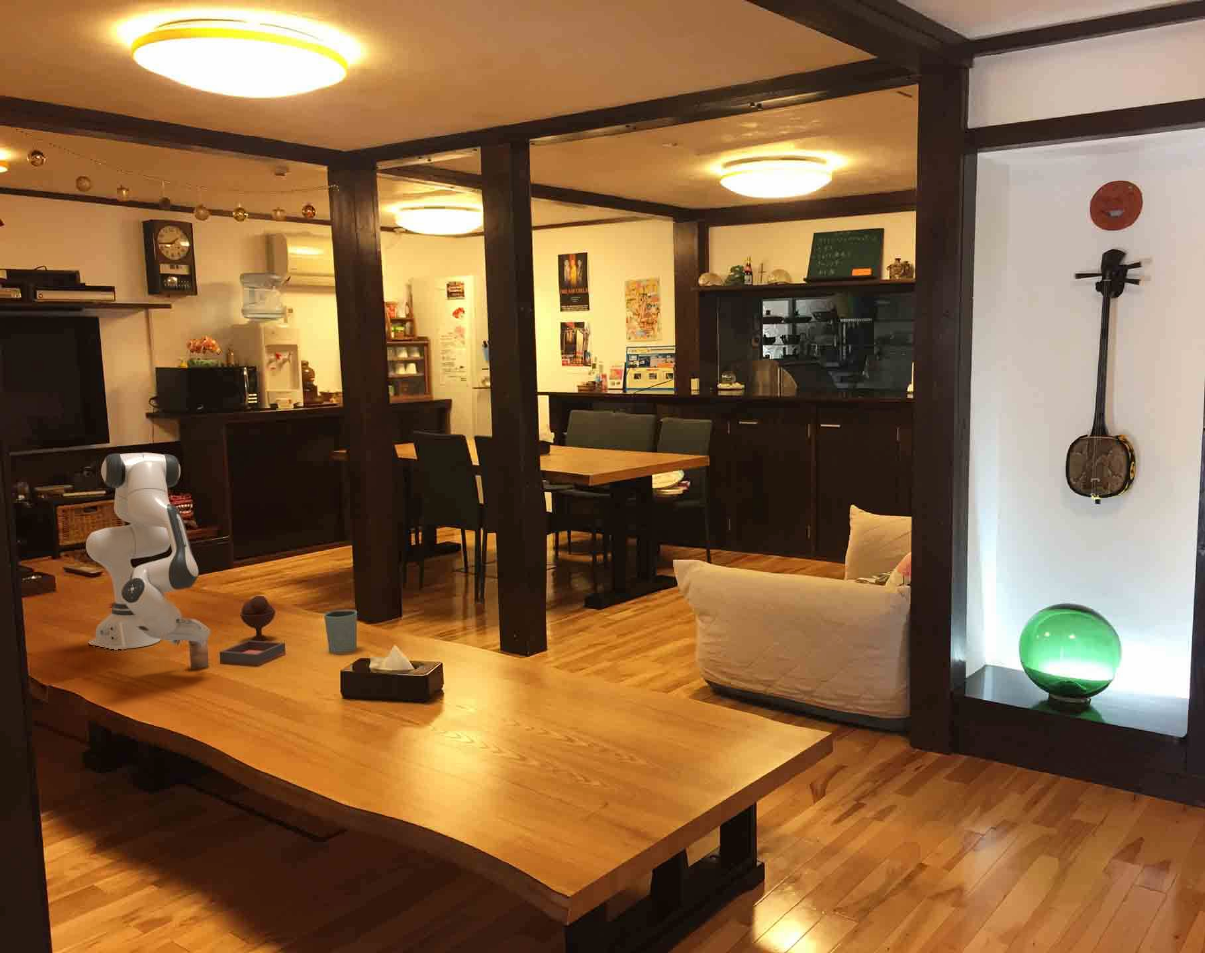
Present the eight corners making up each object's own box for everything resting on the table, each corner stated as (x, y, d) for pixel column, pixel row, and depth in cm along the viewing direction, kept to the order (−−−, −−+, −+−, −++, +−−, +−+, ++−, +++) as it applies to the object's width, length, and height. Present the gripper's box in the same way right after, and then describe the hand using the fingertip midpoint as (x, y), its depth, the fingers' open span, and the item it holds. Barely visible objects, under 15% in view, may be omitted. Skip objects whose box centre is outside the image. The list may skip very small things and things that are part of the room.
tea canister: (186, 669, 307) (184, 636, 306) (198, 664, 312) (196, 632, 311) (201, 670, 306) (198, 637, 305) (212, 665, 311) (210, 633, 309)
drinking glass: (339, 656, 317) (337, 618, 316) (319, 651, 323) (317, 614, 322) (365, 648, 325) (363, 611, 324) (345, 644, 331) (343, 607, 330)
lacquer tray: (220, 663, 313) (219, 651, 312) (248, 651, 326) (248, 640, 325) (258, 666, 308) (257, 654, 308) (285, 653, 321) (284, 642, 321)
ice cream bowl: (281, 635, 344) (279, 591, 342) (267, 644, 333) (265, 599, 331) (251, 635, 345) (248, 591, 343) (236, 644, 334) (233, 599, 332)
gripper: (199, 611, 293) (224, 636, 304) (141, 607, 300) (167, 631, 310) (189, 630, 290) (214, 655, 300) (130, 626, 296) (157, 650, 306)
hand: (190, 643), depth 305 cm, fingers open, 8 cm apart
